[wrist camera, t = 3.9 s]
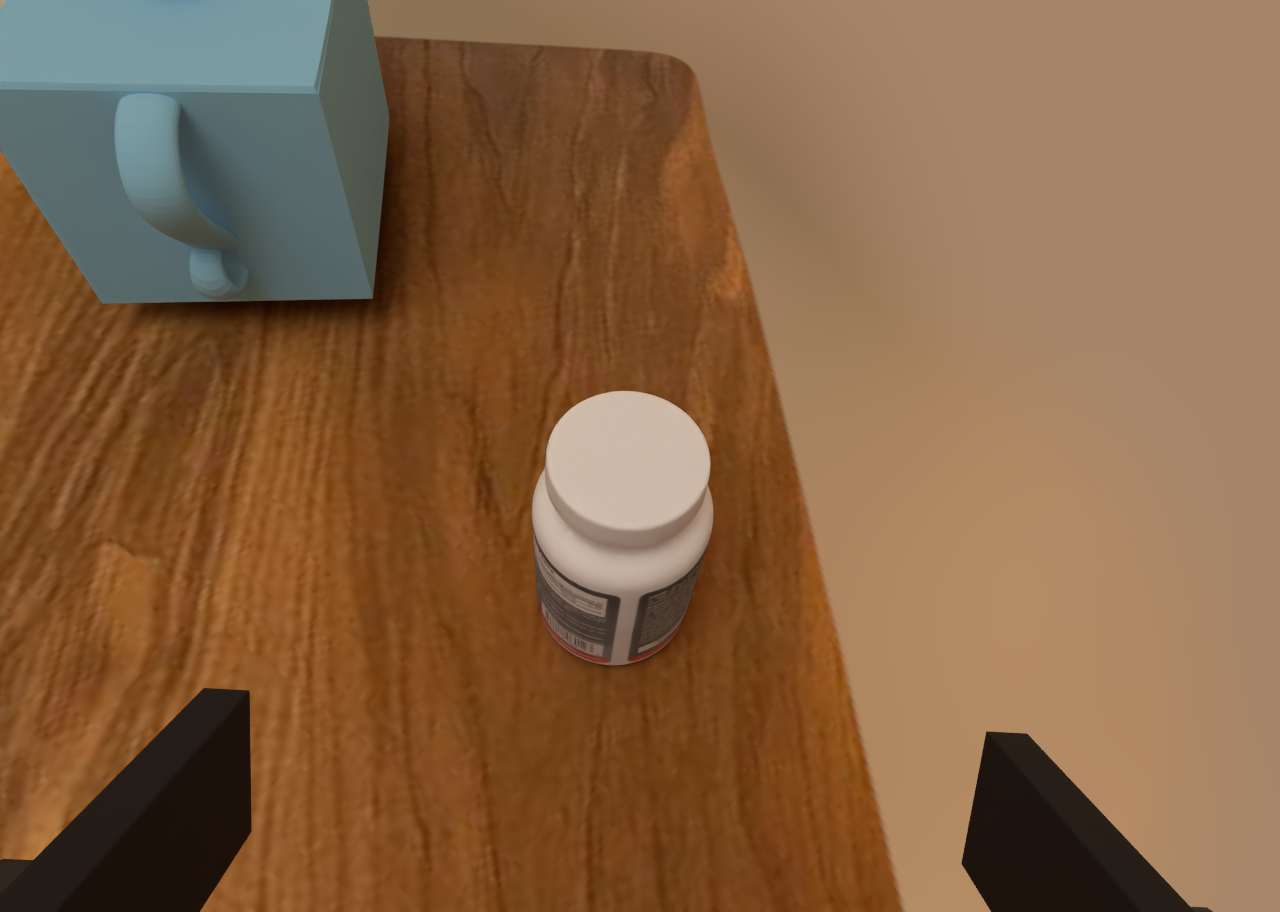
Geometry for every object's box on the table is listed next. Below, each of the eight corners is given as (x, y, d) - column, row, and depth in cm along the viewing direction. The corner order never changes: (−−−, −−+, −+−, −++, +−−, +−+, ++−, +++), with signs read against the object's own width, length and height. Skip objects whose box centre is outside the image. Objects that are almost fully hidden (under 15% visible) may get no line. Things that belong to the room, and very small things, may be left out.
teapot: (376, 372, 36) (291, 82, 24) (104, 380, 34) (-122, 75, 23) (400, 79, 48) (351, -209, 36) (199, 76, 46) (81, -226, 35)
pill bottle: (670, 523, 33) (709, 368, 25) (699, 658, 30) (754, 533, 22) (529, 539, 32) (519, 384, 24) (544, 680, 29) (540, 558, 21)
